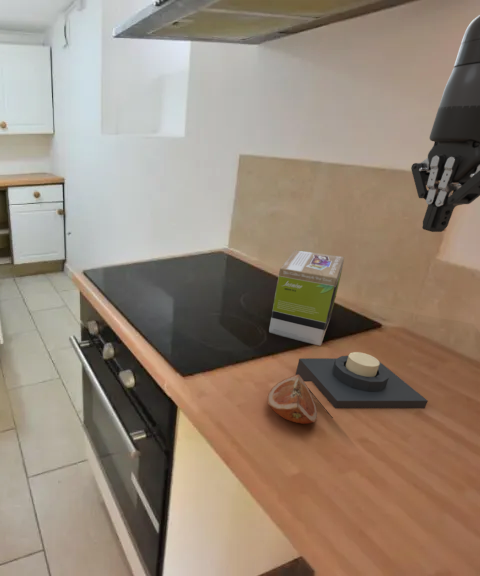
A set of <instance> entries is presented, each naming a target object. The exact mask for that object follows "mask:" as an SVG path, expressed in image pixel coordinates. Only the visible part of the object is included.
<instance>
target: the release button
mask: <svg viewBox="0 0 480 576" xmlns="http://www.w3.org/2000/svg"><path fill="white" fill-rule="evenodd" d="M347 356H348V359H347V362H346V368H347V369H348V370H349V371H351V372H353V373H355V374H357V375H361V376H365V377H375V376H376V374H377V371H378V368H379V365H380V362H381V361H379V359H378V358H377V357H375V356H373V355H371V354H368V353H365V352H361V351H353V352H350V353H349V354H348V355H347Z"/></svg>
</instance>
